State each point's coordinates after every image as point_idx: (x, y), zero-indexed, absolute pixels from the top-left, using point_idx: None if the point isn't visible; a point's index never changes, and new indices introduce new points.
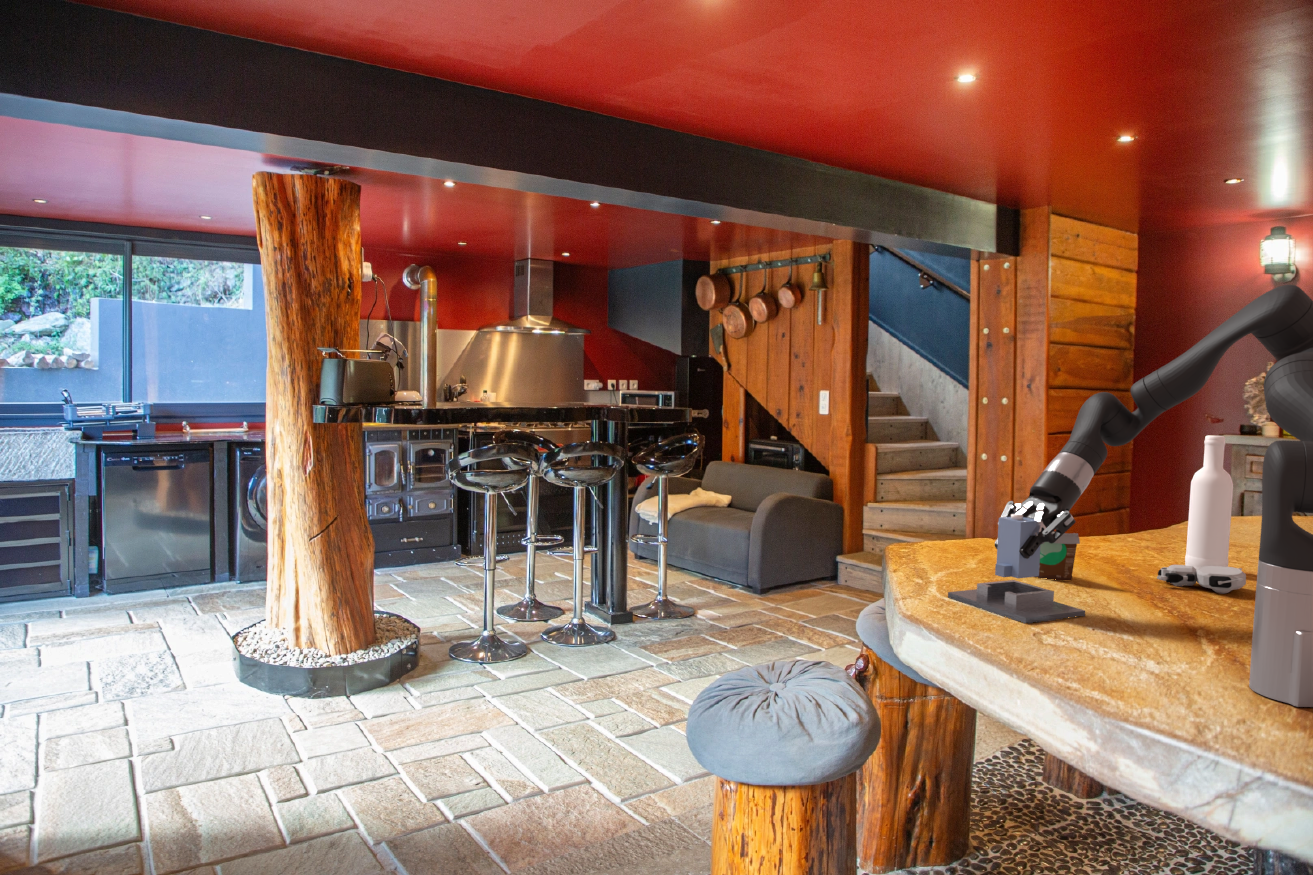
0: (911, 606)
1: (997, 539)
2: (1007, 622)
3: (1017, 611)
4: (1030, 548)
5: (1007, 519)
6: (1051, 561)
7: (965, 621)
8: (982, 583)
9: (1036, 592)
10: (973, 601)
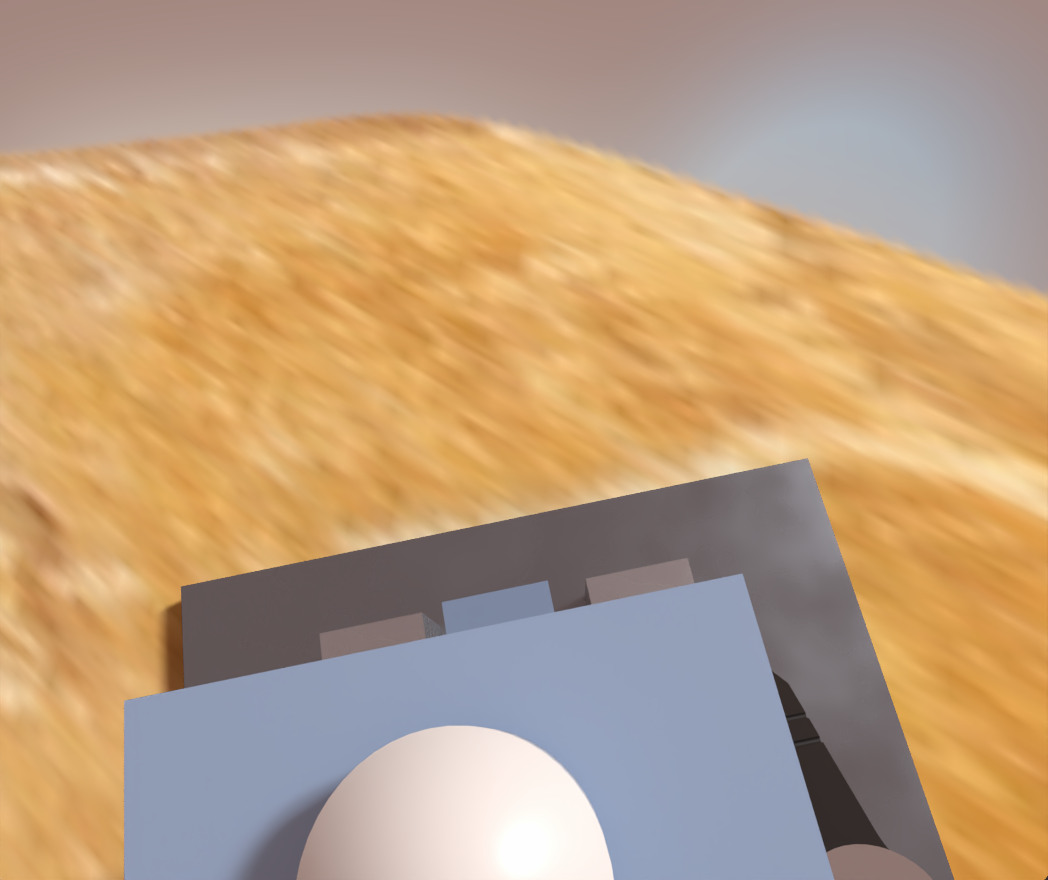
0: (618, 190)
1: (789, 711)
2: (251, 507)
3: (310, 627)
4: None
5: (499, 628)
6: None
7: (322, 307)
8: None
9: None
10: (589, 505)
